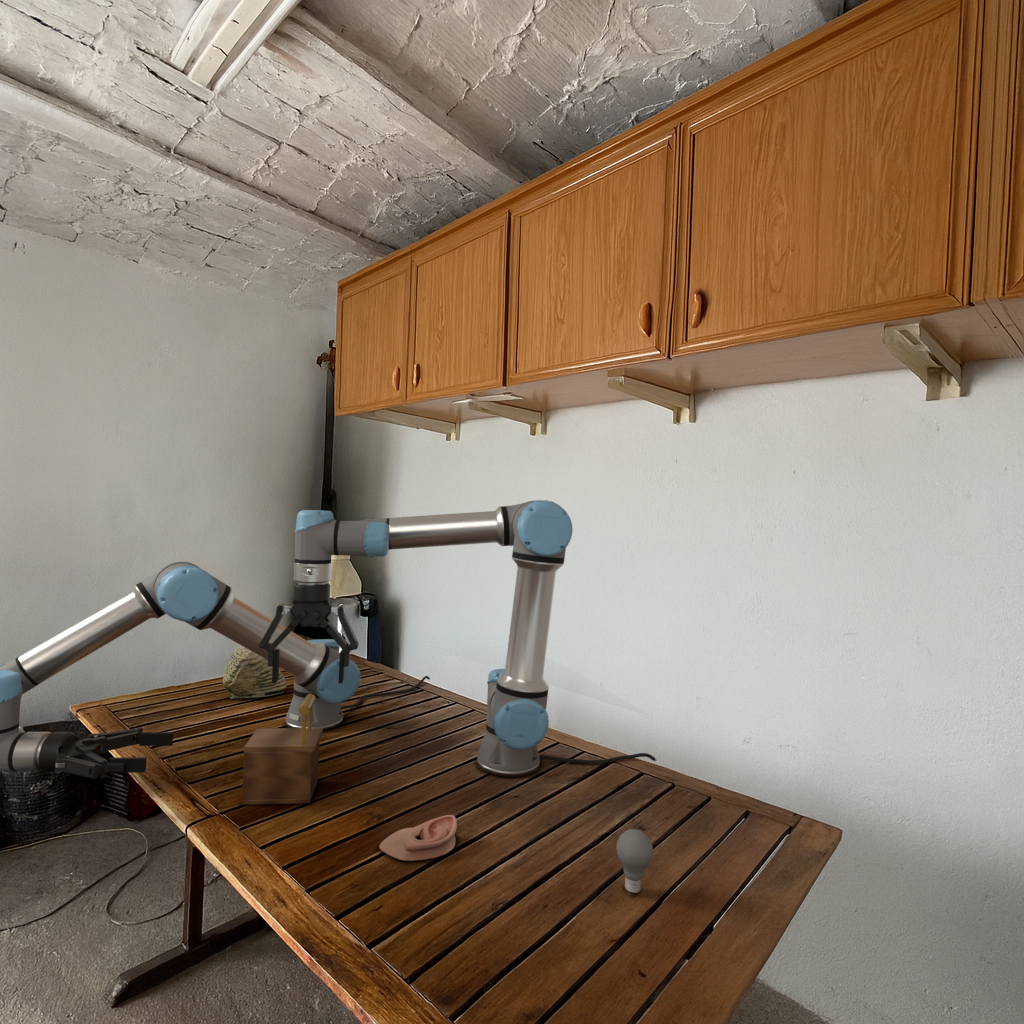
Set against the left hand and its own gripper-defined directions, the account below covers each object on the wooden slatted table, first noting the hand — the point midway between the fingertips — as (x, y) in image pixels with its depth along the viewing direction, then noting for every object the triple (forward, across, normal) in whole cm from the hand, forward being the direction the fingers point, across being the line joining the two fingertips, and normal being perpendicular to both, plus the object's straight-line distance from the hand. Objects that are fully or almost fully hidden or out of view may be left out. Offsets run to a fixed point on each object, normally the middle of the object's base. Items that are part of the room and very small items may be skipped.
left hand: (159, 751), depth 131 cm
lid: (+25, 0, +2) cm, 25 cm away
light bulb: (+89, +39, -9) cm, 98 cm away
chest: (+25, 0, -9) cm, 26 cm away
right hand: (+29, 0, +15) cm, 33 cm away
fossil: (+2, -67, -9) cm, 68 cm away
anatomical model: (+54, +22, -9) cm, 59 cm away
